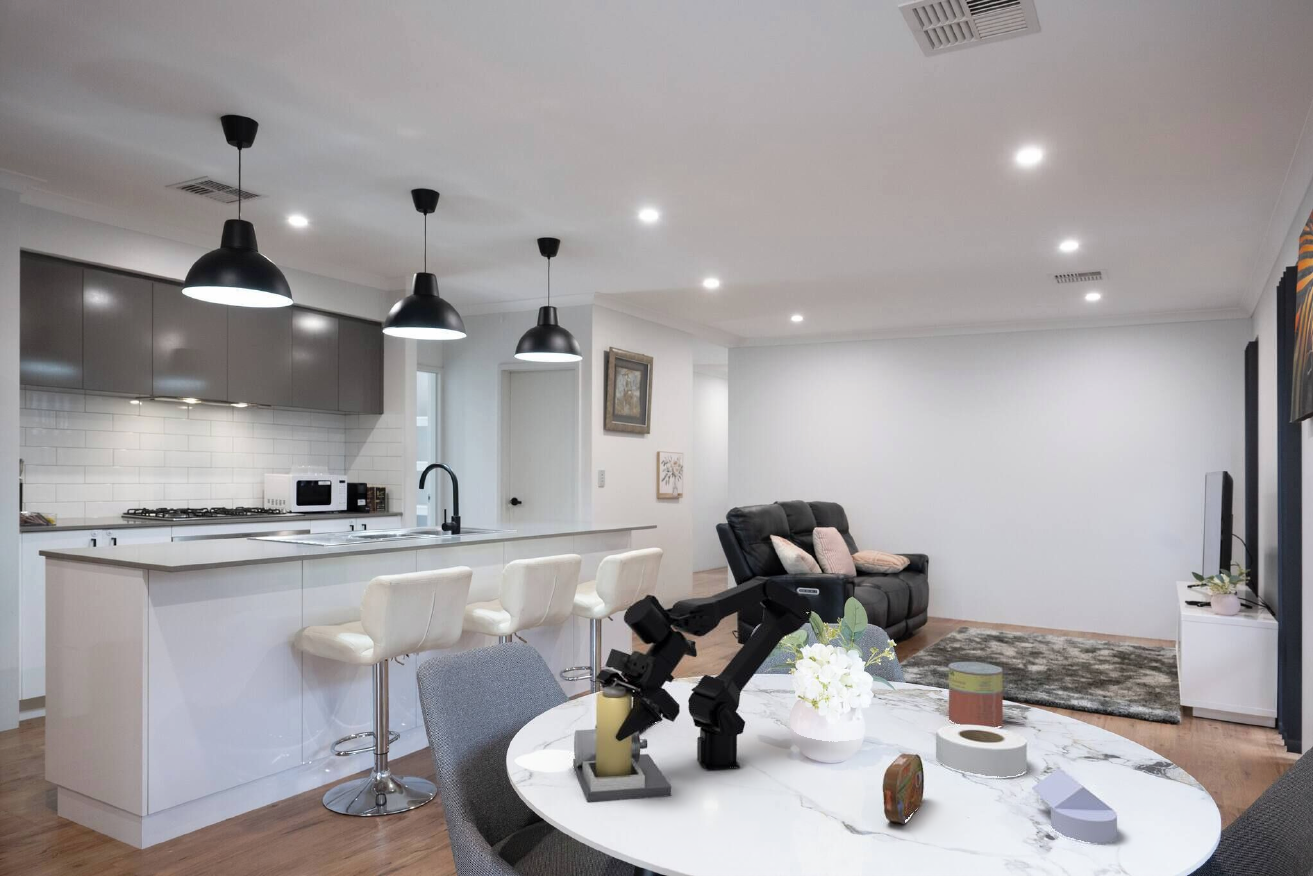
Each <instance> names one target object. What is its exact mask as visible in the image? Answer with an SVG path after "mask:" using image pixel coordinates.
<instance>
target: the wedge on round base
mask: <svg viewBox="0 0 1313 876" xmlns="http://www.w3.org/2000/svg"><path fill="white" fill-rule="evenodd" d="M1030 788H1031V790H1032V791H1034V793H1036V794H1037V795H1038V796H1039V797H1040V798H1041V799H1042V800H1043V801H1045V803H1046V804H1048V805H1049V806H1050V827H1051V826H1052V828H1053V829H1055V831H1057V832H1059V833H1061V834H1062V835H1064V836H1066V837H1070V838H1074V839H1076V840H1081V841H1084V842H1090V843H1097V844H1096V845H1106V843H1109V844H1112V843H1111V842H1113V843H1115V842H1116V841H1117V840H1118V814H1117V811H1115V810H1114V809H1113V808H1112V807H1110V806H1109V805H1108V804H1106V803H1105V802H1104V801H1103V800H1101V799H1100V798H1099V797H1097V796H1096V795H1095V794H1093V792H1091V791H1090V790H1089V789H1087V788H1086V787H1085V786H1084V785H1083V784H1081V783H1079V782H1078V781H1077V780H1075V778H1073V777H1071V776H1070V775H1069V774H1068V773H1066V772H1065V771H1064V770H1062V769H1061V767H1059V768H1057V769H1056V770H1053V772H1051V773H1050V774H1048V775H1047V776H1046V777H1044V778H1043V779H1042V780H1040V781H1039V782H1037V783H1036V784H1034V785H1033V786H1032V787H1030ZM1052 828H1051V829H1052ZM1116 839H1117V840H1116ZM1115 840H1116V841H1115ZM1114 841H1115V842H1114Z"/></svg>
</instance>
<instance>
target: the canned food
mask: <svg viewBox="0 0 1313 876" xmlns="http://www.w3.org/2000/svg"><path fill="white" fill-rule="evenodd" d="M947 667H948V718H949V720H951V721H952V722H954V723H956V724H960V725H980V726H989V727H994V728H995V727H998V726H1002V724H1003V725H1004V720H1003V714H1004V712H1003V710H1004V709H1003V708H1004V707H1003V705H1004V703H1003V702H1004V701H1003V692H1004V691H1003V690H1004V689H1003V687H1004V686H1003V671H1004V669H1003V668H1002V667H1001V666H997V665H994V664H990V663H985V662H984V663H983V662H976V661H956V662H950V663H949V664H948V665H947ZM949 720H948V721H949Z"/></svg>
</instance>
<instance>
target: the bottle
mask: <svg viewBox="0 0 1313 876" xmlns="http://www.w3.org/2000/svg"><path fill="white" fill-rule="evenodd" d="M632 705H633V697H632V694H631V693H629V692H626V688H624V687H619V686H610V687H605V688H602V691H601V692H598V693H597V694H596V709H595V710H596V712H595V713H596V715H595V716H596V719H595V721H596V724H595V727H596V728H595V729H596V775H597V776H599V777H611V776H625V775H631V749H632V735H630V736H629V737H627V738H625V739H623V740H622V741H618V740H617V739H616V738H615V737H616V735H617V733H618V731H619V729H620V727H621V726H622V724H623V722H624V721H625V719H626V717H627V716H628V714H629V713H630V711H631V709H632Z"/></svg>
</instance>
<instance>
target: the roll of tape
mask: <svg viewBox="0 0 1313 876" xmlns="http://www.w3.org/2000/svg"><path fill="white" fill-rule="evenodd" d="M1027 746H1028V745H1027V740H1026V738H1024V736H1022V735H1020V734H1018V733H1016V732H1014V731H1011V730H1006V729H1002V728H994V727H989V726H980V725H954V724H952V725H946V726H943V727H941V728H938V729H937V730H936V731H935V759H936V758H937V759H938V760H939V762H941V763H942V764H944V765H946V766H948V767H951V768H953V769H956V770H961V771H964V772H970V773H973V774H981V775H985V776H997V777H998V776H999V777H1007V776H1016V775H1018V774H1022V773H1023V772H1025V771H1026V769H1027V768H1028V765H1027V764H1028V761H1027V760H1028V758H1027V757H1028V755H1027V753H1028V750H1027V748H1028V747H1027ZM937 759H936V760H937ZM939 762H938V763H939ZM1027 770H1028V769H1027Z"/></svg>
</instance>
